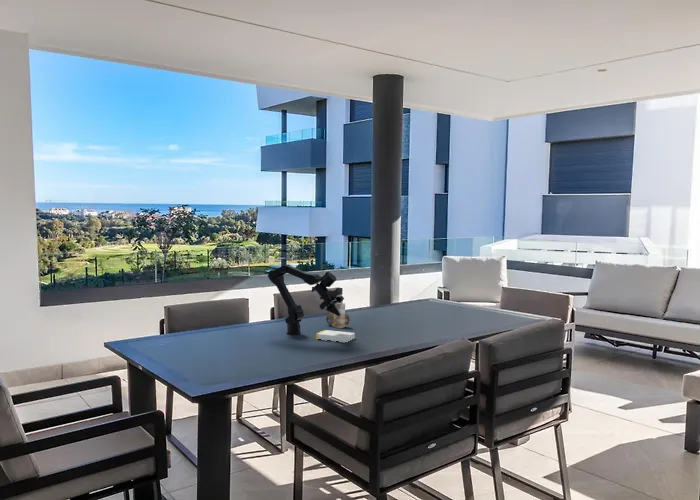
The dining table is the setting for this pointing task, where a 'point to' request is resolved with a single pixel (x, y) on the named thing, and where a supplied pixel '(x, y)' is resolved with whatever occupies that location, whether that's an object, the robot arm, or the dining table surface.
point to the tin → (331, 319)
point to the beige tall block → (339, 320)
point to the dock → (335, 336)
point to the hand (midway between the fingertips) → (341, 314)
